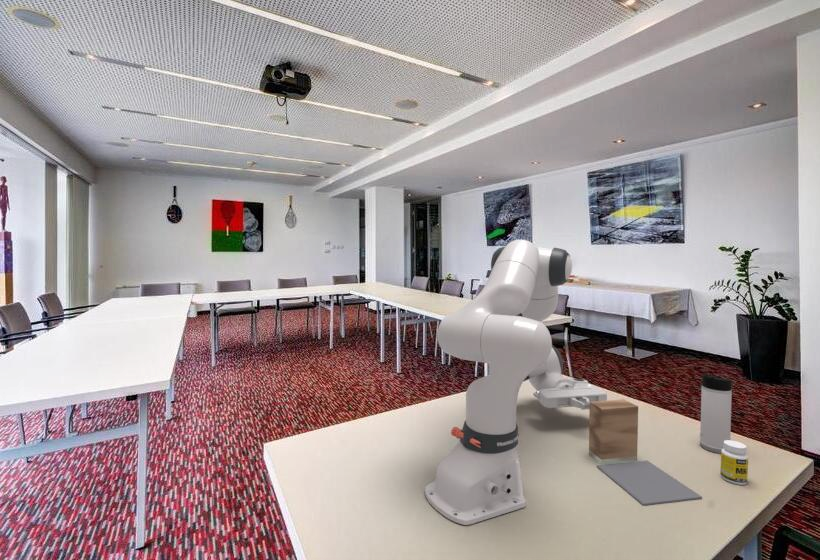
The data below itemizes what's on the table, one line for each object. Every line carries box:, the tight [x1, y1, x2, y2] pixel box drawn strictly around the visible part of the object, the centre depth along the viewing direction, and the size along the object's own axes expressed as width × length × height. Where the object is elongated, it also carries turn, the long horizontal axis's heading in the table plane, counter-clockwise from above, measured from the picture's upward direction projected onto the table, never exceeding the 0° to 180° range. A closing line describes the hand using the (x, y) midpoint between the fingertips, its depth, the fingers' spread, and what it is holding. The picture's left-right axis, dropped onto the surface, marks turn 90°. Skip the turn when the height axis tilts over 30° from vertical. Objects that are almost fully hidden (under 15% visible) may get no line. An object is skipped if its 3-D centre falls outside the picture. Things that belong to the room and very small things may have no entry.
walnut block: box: [588, 398, 639, 465], centre depth 97 cm, size 5×10×14 cm, turn 99°
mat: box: [596, 459, 703, 507], centre depth 86 cm, size 15×14×1 cm
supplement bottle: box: [719, 439, 749, 486], centre depth 87 cm, size 5×5×8 cm
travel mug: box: [699, 373, 733, 455], centre depth 101 cm, size 6×7×20 cm
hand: (587, 406), depth 107 cm, fingers closed
